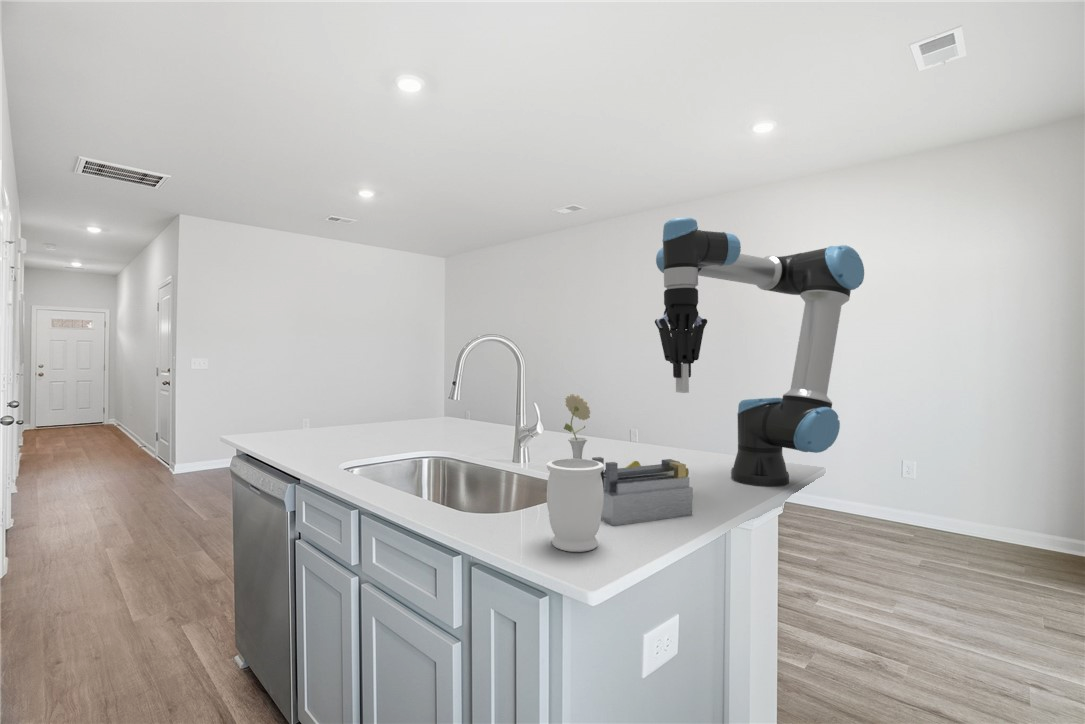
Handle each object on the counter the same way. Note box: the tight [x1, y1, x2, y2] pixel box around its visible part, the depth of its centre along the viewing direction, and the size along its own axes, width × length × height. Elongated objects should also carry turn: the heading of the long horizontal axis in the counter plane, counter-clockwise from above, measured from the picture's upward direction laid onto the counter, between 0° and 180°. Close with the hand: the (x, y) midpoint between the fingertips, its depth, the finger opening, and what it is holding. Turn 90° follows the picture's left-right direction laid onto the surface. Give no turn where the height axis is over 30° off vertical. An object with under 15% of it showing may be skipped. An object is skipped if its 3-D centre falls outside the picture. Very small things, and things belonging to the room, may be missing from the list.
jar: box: [546, 458, 605, 553], centre depth 98 cm, size 11×10×15 cm
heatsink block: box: [591, 456, 694, 527], centre depth 119 cm, size 20×14×12 cm
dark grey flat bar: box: [604, 458, 681, 477], centre depth 120 cm, size 18×4×2 cm, turn 113°
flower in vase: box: [563, 393, 591, 459], centre depth 136 cm, size 13×11×25 cm
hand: (682, 392), depth 122 cm, fingers closed
